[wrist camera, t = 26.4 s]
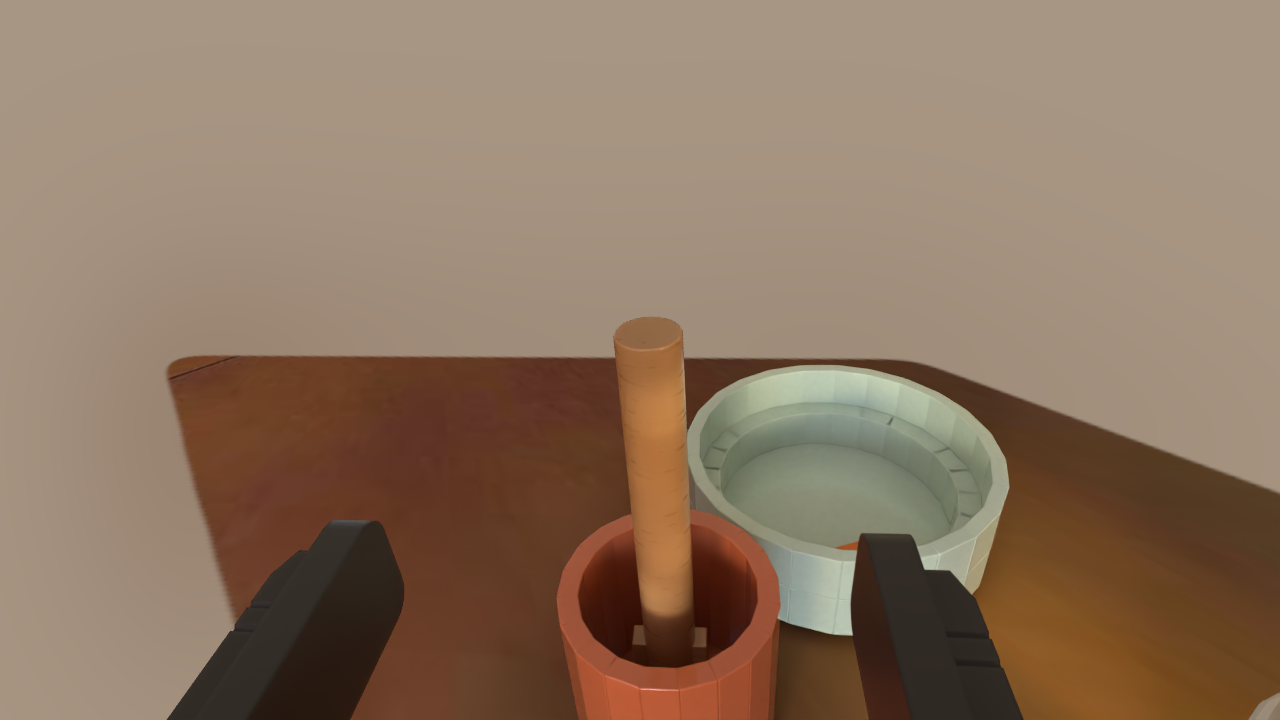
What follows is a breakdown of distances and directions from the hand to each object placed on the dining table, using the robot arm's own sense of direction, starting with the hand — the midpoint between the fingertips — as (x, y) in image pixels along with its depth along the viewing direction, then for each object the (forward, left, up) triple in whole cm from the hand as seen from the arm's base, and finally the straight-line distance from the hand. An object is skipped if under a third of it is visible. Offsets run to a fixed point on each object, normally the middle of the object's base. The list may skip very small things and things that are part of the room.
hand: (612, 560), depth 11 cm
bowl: (-9, -24, -22) cm, 34 cm away
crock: (0, -11, -22) cm, 25 cm away
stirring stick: (0, -11, -22) cm, 24 cm away
